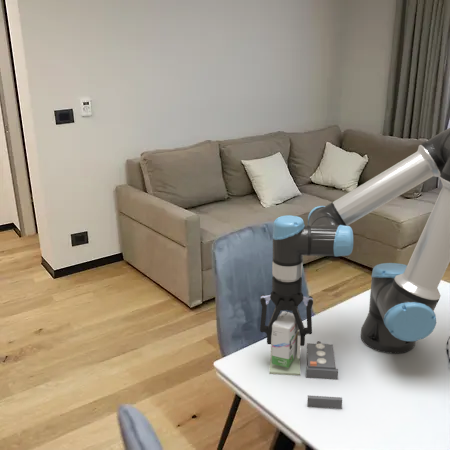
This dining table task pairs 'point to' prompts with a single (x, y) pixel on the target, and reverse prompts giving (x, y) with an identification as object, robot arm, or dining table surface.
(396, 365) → the dining table surface
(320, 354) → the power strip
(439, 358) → the dining table surface
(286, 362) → the ink box
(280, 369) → the felt pad
